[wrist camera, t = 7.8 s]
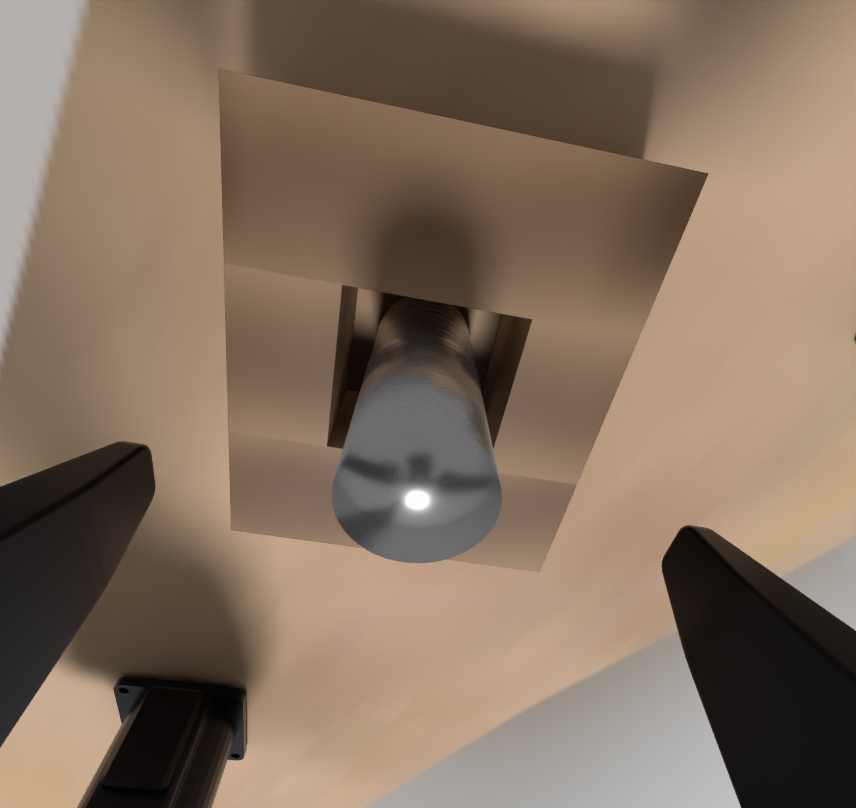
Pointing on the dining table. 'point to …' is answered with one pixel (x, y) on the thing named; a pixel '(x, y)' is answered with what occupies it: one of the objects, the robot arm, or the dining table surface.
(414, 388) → the peg
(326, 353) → the hole block
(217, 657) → the dining table surface
